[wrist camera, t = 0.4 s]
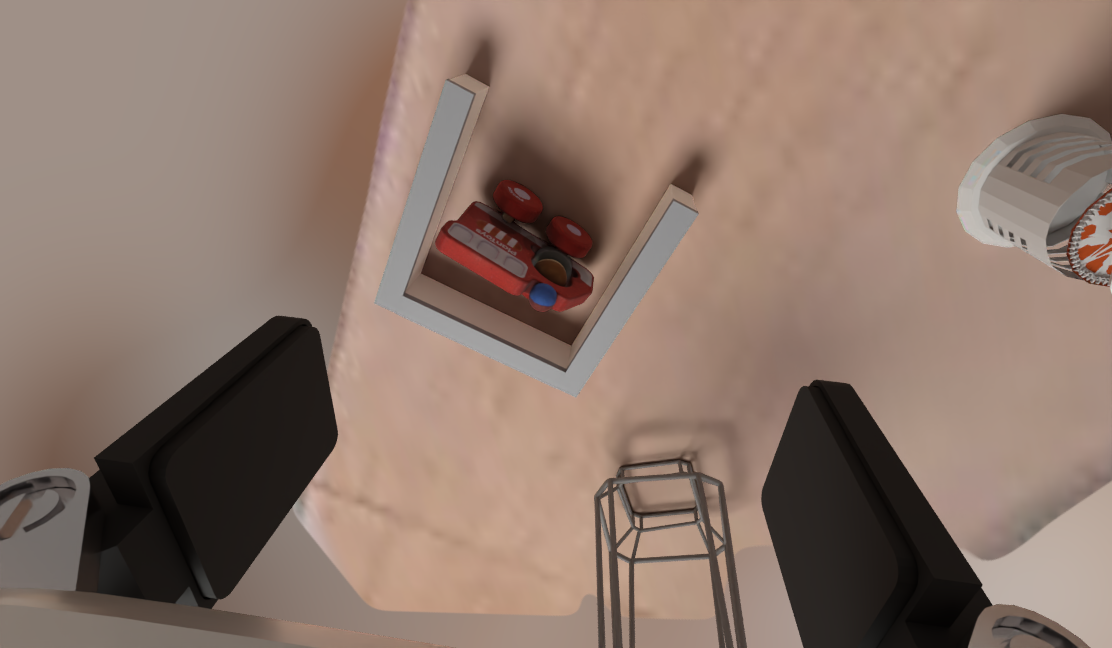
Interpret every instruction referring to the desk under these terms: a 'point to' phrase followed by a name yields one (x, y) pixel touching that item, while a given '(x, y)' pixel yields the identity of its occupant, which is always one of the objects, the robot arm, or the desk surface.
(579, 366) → the white u-shaped wall
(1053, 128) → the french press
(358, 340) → the desk surface
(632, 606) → the geometric lantern
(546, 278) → the toy fire truck
